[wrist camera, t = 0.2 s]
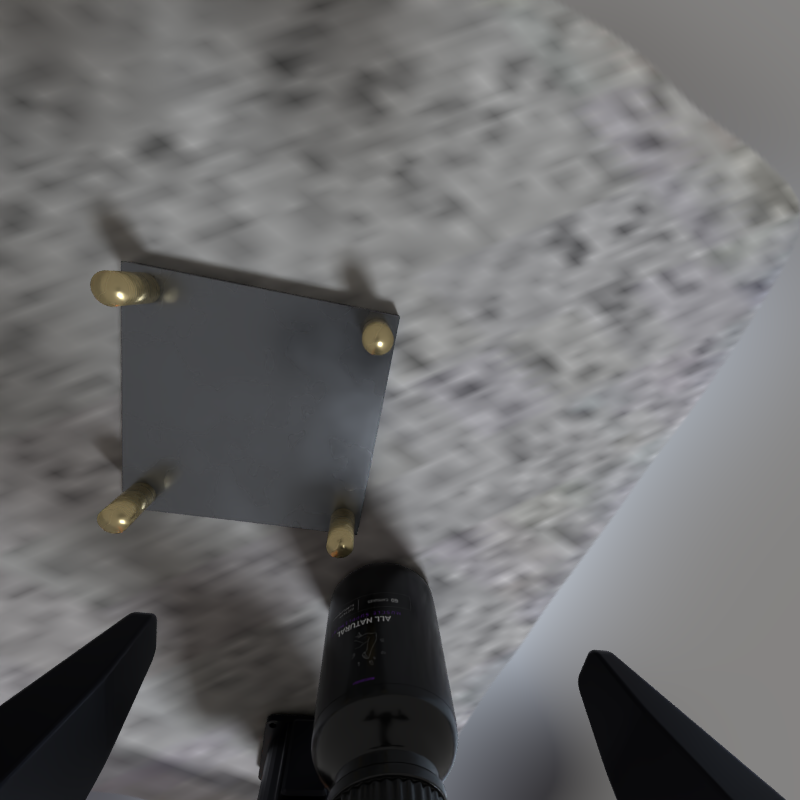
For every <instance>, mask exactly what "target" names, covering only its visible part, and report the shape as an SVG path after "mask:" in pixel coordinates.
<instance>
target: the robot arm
mask: <svg viewBox="0 0 800 800" xmlns="http://www.w3.org/2000/svg"><path fill="white" fill-rule="evenodd" d="M156 633H157V617H156V615H155V614H152V613H140V612H134V613H131V614H129V615H127V616H126V617H124V618H123V619H122V620H120V621H119V622H117V623H116V624H115V625H113V626H112V627H110V628H109V629H107V630H106V631H105V632H103V633H102V634H100V635H99V636H98V637H96V638H95V639H93V640H92V641H91V642H89V643H88V644H86V645H85V646H84V647H82V648H81V649H79V650H78V651H77V652H75V653H74V654H72V655H71V656H69V657H68V658H67V659H65V660H64V661H62V662H61V663H60V664H58V665H57V666H55V667H54V668H53V669H51V670H50V671H48V672H47V673H46V674H44V675H43V676H41V677H40V678H39V679H37V680H36V681H34V682H33V683H31V684H30V685H29V686H27V687H26V688H24V689H23V690H22V691H20V692H19V693H17V694H16V695H15V696H13V697H12V698H10V699H9V700H8V701H6V702H5V703H3V704H2V705H1V706H0V800H86V798H87V796H88V794H89V793H90V791H91V789H92V787H93V785H94V784H95V782H96V780H97V778H98V776H99V774H100V772H101V771H102V769H103V767H104V765H105V763H106V761H107V759H108V757H109V755H110V753H111V750H112V748H113V746H114V744H115V742H116V740H117V737H118V735H119V733H120V731H121V729H122V726H123V724H124V722H125V720H126V718H127V715H128V713H129V711H130V709H131V707H132V704H133V702H134V700H135V698H136V696H137V693H138V691H139V689H140V687H141V684H142V682H143V680H144V678H145V676H146V673H147V671H148V669H149V667H150V665H151V662H152V660H153V657H154V654H155V650H156ZM578 685H579V690H580V694H581V697H582V700H583V703H584V706H585V709H586V712H587V715H588V718H589V721H590V724H591V727H592V730H593V733H594V736H595V739H596V743H597V746H598V749H599V752H600V755H601V758H602V761H603V763H604V767H605V770H606V772H607V775H608V778H609V781H610V783H611V786H612V788H613V791H614V794H615V796H616V798H617V800H785V799H784V798H783V797H782V796H781V795H779V794H778V793H777V792H776V791H775V790H774V789H773V788H771V787H770V786H769V785H768V784H767V783H765V782H764V781H763V780H762V779H760V777H758V776H757V775H756V774H755V773H754V772H752V771H751V770H750V769H749V768H748V767H746V766H745V765H744V764H743V763H742V762H741V761H739V760H738V759H737V758H736V757H735V756H733V755H732V754H731V753H730V752H729V751H728V750H726V749H725V748H724V747H723V746H722V745H720V744H719V743H718V742H717V741H716V740H715V739H713V738H712V737H711V736H710V735H708V734H707V733H706V732H705V731H704V730H703V729H702V728H700V727H699V726H698V725H696V723H694V722H693V721H692V720H691V719H689V718H688V717H687V716H686V715H685V714H684V713H682V712H681V711H680V710H679V709H678V708H677V707H675V706H674V705H673V704H672V703H671V702H670V701H668V700H667V699H666V698H665V697H664V696H662V695H661V694H660V693H659V692H658V691H657V690H655V689H654V688H653V687H652V686H651V685H649V684H648V683H647V682H646V681H645V680H644V679H642V678H641V677H640V676H639V675H637V674H636V673H635V672H634V671H633V670H631V668H629V667H628V666H627V665H626V664H625V663H623V662H622V661H621V660H620V659H618V658H617V657H616V656H615V655H614V654H613V653H611V652H609V651H601V650H592V651H590V652H589V654H588V656H587V658H586V660H585V663H584V665H583V667H582V670H581V672H580V674H579V678H578ZM313 723H314V716H295V715H276V714H274V715H270V716H269V717H268V718H267V722H266V727H265V734H264V741H263V748H262V755H261V762H260V769H259V776H258V777H259V779H260V780H261V785H260V790H259V794H258V799H257V800H327V797H328V795H329V792H328V791H327V790H326V789H325V787H324V786H323V785H322V783H321V782H320V780H319V778H318V776H317V774H316V771H315V768H314V765H313V761H312V756H311V741H312V731H313Z"/></svg>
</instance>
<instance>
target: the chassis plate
mask: <svg viewBox="0 0 800 800" xmlns="http://www.w3.org/2000/svg"><path fill="white" fill-rule="evenodd" d="M90 286H91V291H92V293H93V295H94V297H95V298H96V299H97V300H98V301H99V302H101V303H102V304H104V305H107V306H111V307H116V306H121V320H122V476H123V493H122V494H121V495H120V496H119V497H117V498H116V499H115V500H114V501H113V502H112V503H110V504H109V505H108V506H107V507H106V508H105V509H103V510H102V511H101V512H100V513H99V514H98V517H97V522H98V524H99V526H100V527H101V528H102V529H103V530H104V531H106V532H109V533H114V534H116V533H121V532H123V531H125V530H126V529H127V528H128V527H129V526H130V525H131V524H132V523H133V522H134V521H135V520H136V519H137V517H138V516H139V515H140V514H141V513H142V512H143V511H144V510H151V511H160V512H168V513H176V514H185V515H193V516H202V517H210V518H219V519H227V520H236V521H244V522H253V523H261V524H270V525H278V526H287V527H295V528H303V529H312V530H320V531H329V532H328V539H327V545H326V549H327V552H328V553H329V554H330V555H331V556H333V557H336V558H344V557H346V556H348V555H349V554H350V553H351V552H352V550H353V543H354V535H357V532H358V527H359V522H360V517H361V512H362V507H363V502H364V497H365V491H366V486H367V481H368V476H369V471H370V466H371V461H372V456H373V451H374V446H375V441H376V436H377V430H378V425H379V420H380V415H381V410H382V405H383V400H384V395H385V390H386V385H387V380H388V375H389V370H390V364H391V359H392V354H393V349H394V344H395V339H396V334H397V329H398V324H399V319H400V316H399V315H394V314H389V313H384V312H379V311H374V310H369V309H364V308H359V307H354V306H349V305H344V304H339V303H334V302H329V301H324V300H319V299H314V298H309V297H304V296H299V295H294V294H289V293H284V292H279V291H274V290H269V289H264V288H259V287H254V286H249V285H244V284H239V283H234V282H229V281H224V280H219V279H214V278H209V277H204V276H199V275H194V274H189V273H184V272H179V271H174V270H169V269H164V268H159V267H154V266H149V265H144V264H139V263H134V262H126V261H121V271H105V270H104V271H99V272H97V273H96V274H95V275H94V276H93V277H92V279H91V284H90Z"/></svg>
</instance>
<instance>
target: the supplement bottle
mask: <svg viewBox="0 0 800 800" xmlns="http://www.w3.org/2000/svg"><path fill="white" fill-rule="evenodd" d="M457 748H458V731H457V724H456V718H455V712H454V707H453V702H452V696H451V691H450V685H449V680H448V675H447V669H446V664H445V659H444V653H443V648H442V642H441V637H440V632H439V626H438V621H437V616H436V610H435V606H434V601H433V597H432V593H431V591H430V588H429V587H428V585H427V583H426V582H425V581H424V580H423V578H422V577H421V576H419V575H418V574H417V573H416V572H414V571H413V570H411V569H409V568H407V567H404V566H401V565H398V564H392V563H376V564H370V565H367V566H364V567H361V568H359V569H357V570H355V571H353V572H352V573H350V574H349V575H347V576H346V577H345V578H344V579H343V580H342V581H341V582H340V583H339V585H338V586H337V588H336V589H335V591H334V593H333V596H332V598H331V603H330V608H329V614H328V621H327V628H326V635H325V643H324V650H323V657H322V665H321V672H320V679H319V687H318V694H317V701H316V708H315V716H314V723H313V731H312V741H311V756H312V761H313V765H314V768H315V771H316V774H317V776H318V778H319V780H320V782H321V783H322V785H323V786H324V787H325V789H326V790H327V791H328V792H329V795H328V797H327V800H447V795H446V790H445V787H444V784H443V782H444V781H445V779H446V778H447V776H448V774H449V773H450V771H451V769H452V766H453V764H454V761H455V757H456V753H457Z"/></svg>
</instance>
